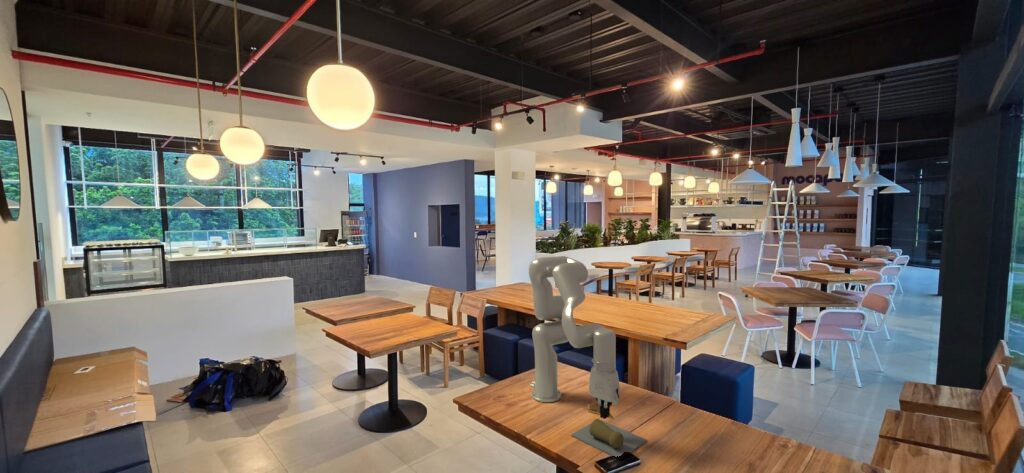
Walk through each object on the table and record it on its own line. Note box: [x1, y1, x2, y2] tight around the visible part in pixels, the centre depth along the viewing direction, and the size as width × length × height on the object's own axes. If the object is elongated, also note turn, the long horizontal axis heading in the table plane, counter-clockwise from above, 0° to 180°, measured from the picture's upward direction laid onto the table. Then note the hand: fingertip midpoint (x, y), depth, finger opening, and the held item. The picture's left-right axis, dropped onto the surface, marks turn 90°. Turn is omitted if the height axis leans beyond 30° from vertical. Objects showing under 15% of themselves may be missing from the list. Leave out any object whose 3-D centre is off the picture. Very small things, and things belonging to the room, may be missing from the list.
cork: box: [590, 418, 624, 449], centre depth 143 cm, size 6×6×11 cm
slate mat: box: [570, 419, 648, 457], centre depth 146 cm, size 20×16×1 cm
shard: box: [586, 402, 613, 419], centre depth 165 cm, size 11×8×2 cm
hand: (604, 416), depth 147 cm, fingers closed
